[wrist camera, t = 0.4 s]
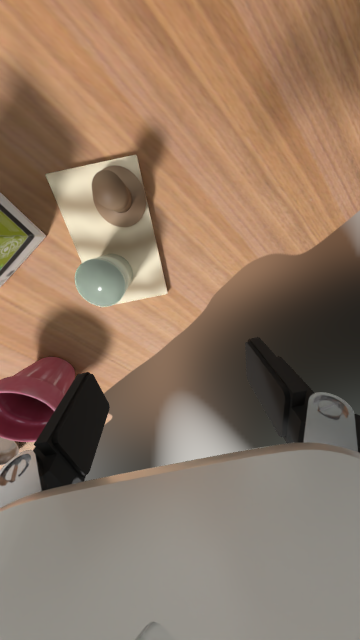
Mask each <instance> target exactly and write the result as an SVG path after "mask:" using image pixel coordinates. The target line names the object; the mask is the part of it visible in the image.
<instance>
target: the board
mask: <svg viewBox="0 0 360 640" xmlns="http://www.w3.org/2000/svg"><path fill="white" fill-rule="evenodd" d="M113 165H116V166H122V167H124V168H126V169H128V170H130V171H131V172H132V173H133V174H135V176H136V177H137V178H138V179H139V181H140V183H141V185H142V187H143V189H144V185H143V180H142V176H141V172H140V167H139V163H138V158H137V155H132V156H127V157H122V158H118V159H113V160H108V161H104V162H99V163H94V164H90V165H85V166H80V167H76V168H71V169H66V170H62V171H57V172H53V173H48V174H45V175H46V177H47V180H48V182H49V185H50V187H51V189H52V192H53V194H54V197H55V199H56V202H57V204H58V206H59V209H60V211H61V214H62V216H63V218H64V221H65V223H66V226H67V228H68V230H69V233H70V235H71V238H72V240H73V243H74V245H75V247H76V250H77V252H78V255H79V257H80V259H81V262H82V263H83V262H85V261H87V260H90V259H94V258H97V257H100V256H103V255H106V254H117V255H120V256H122V257H123V258H125V259H126V260H127V261H128V262H129V264H130V265H131V267H132V270H133V280H132V282H131V284H130V286H129V287H128V289H127V290H126V291H125V294H124V296H123V297H122V299H121V300H120V301H119V302H118V303H116V304H120V303H125V302H130V301H135V300H140V299H145V298H149V297H154V296H159V295H164V294H168V292H167V287H166V283H165V278H164V274H163V269H162V265H161V261H160V256H159V252H158V247H157V243H156V238H155V234H154V229H153V225H152V220H151V216H150V212H149V207H148V203H147V198H146V208H145V212H144V214H143V216H142V218H141V219H140V221H139V222H137V223H136V224H135V225H133V226H130V227H118V226H114V225H112V224H110V223H109V222H107V221H106V220H105V219H104V218H103V217H102V216H101V215H100V214H99V212H98V211H97V209H96V207H95V204H94V201H93V195H92V180H93V177H94V176H95V174H96V173H97V172H99V171H101V170H102V169H104V168H106V167H108V166H113ZM144 192H145V189H144ZM145 196H146V194H145ZM114 305H115V304H114ZM100 307H102V306H100Z"/></svg>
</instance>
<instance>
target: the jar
mask: <svg viewBox="0 0 360 640" xmlns="http://www.w3.org/2000/svg"><path fill="white" fill-rule="evenodd" d="M132 280H133V270H132V267H131V265H130V264H129V262H128V261H127V260H126V259H125V258H123V257H122V256H120V255H117V254H106V255H103V256H100V257H97V258H94V259H90V260H87V261H85V262H83V263H82V264H81V265H80V266H79V267H78V269H77V270H76V273H75V284H76V287H77V290H78V292H79V293H80V295H81V296H82V297H83V298H84V299H85V300H87V301H88V302H90V303H91V304H94V305H97V306H102V307H107V306H112V305H114V304H116V303H118V302H119V301H120V300H121V299H122V297H123V296H124V294H125V291H126V290H127V289H128V287H129V286H130V284H131V282H132Z"/></svg>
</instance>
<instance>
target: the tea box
mask: <svg viewBox="0 0 360 640" xmlns="http://www.w3.org/2000/svg"><path fill="white" fill-rule="evenodd" d="M45 237H46V235H45V234H44V233H43V232H42V231H41V230H40V229H39V228H38V227H37V226H36V225H34V224H33V223H32V222H31V221H30V220H29V219H28V218H27V217H26V216H25V215H24V214H23V213H22V212H21V211H20V210H19V209H17V208H16V207H15V206H14V205H13V204H12V203H11V202H10V201H9V200H8V199H7V198H6V197H5V196H4V195H3V194H2V193H0V287H1V286H2V285H3V284H4V283H5V282H6V281H7V280H8V278H9V277H10V276H11V275H12V274H13V273H14V272H15V271H16V270H17V269H18V267H19V266H20V265H21V264H22V263H23V262H24V261H25V260H26V259H27V258H28V256H29V255H30V254H31V253H32V252H33V251H34V250H35V249H36V248H37V246H38V245H39V244H40V243H41V242H42V241H43V239H44V238H45Z"/></svg>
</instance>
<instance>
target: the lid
mask: <svg viewBox="0 0 360 640" xmlns="http://www.w3.org/2000/svg"><path fill="white" fill-rule="evenodd" d="M92 195H93V201H94V204H95V207H96V209H97V211H98V212H99V214H100V215H101V216H102V217H103V218H104V219H105V220H106V221H107V222H109V223H110V224H112V225H114V226H118V227H130V226H133V225H135V224H136V223H137V222H139V221H140V219H141V218H142V216H143V214H144V212H145V208H146V196H145V192H144V189H143V187H142V185H141V183H140V181H139V179H138V178H137V177H136V176H135V174H133V173H132V172H131V171H130V170H128V169H126V168H124V167H122V166H116V165H113V166H108V167H106V168H104V169H102V170H101V171H99V172H97V173H96V174H95V176H94V177H93V180H92Z"/></svg>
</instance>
